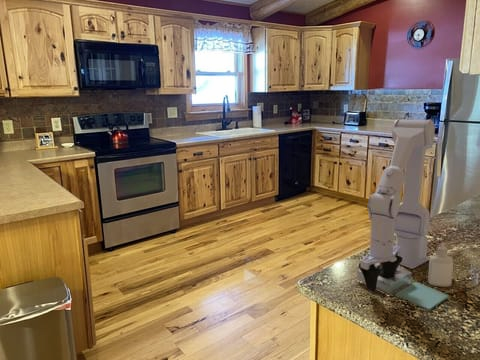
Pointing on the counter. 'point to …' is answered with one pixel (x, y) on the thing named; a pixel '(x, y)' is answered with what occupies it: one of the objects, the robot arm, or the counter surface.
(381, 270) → the pin
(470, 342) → the counter surface
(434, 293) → the mat
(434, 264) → the eye dropper bottle
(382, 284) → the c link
